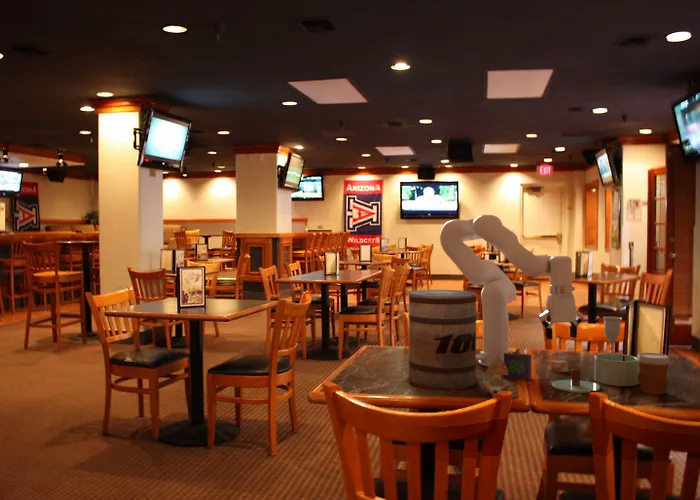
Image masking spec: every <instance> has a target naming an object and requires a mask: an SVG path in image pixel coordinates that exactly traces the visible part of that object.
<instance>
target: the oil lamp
mask: <svg viewBox="0 0 700 500" xmlns="http://www.w3.org/2000/svg"><path fill="white" fill-rule="evenodd" d="M485 374H486V375H491V376H493V377H492V379H484V380H483V381H482V387H483V389H484V390H485V392H487V394H489V395H491V396H492V397H493V395H494V394H495V393H497V392H500V391H507V392H508V391H509V390H510V388H511V385H512V383H511V381H509V380H505V379H502V376H504V375H509V373H508V369H507V367H506V365H505V364H504V362H503V361H502V360H501V358H500V357H499V356H497V357H496V358H495V359H494V360H493V361H492V363H491V364H490V365H489V367H488V366H487V369H486V372H485Z"/></svg>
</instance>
